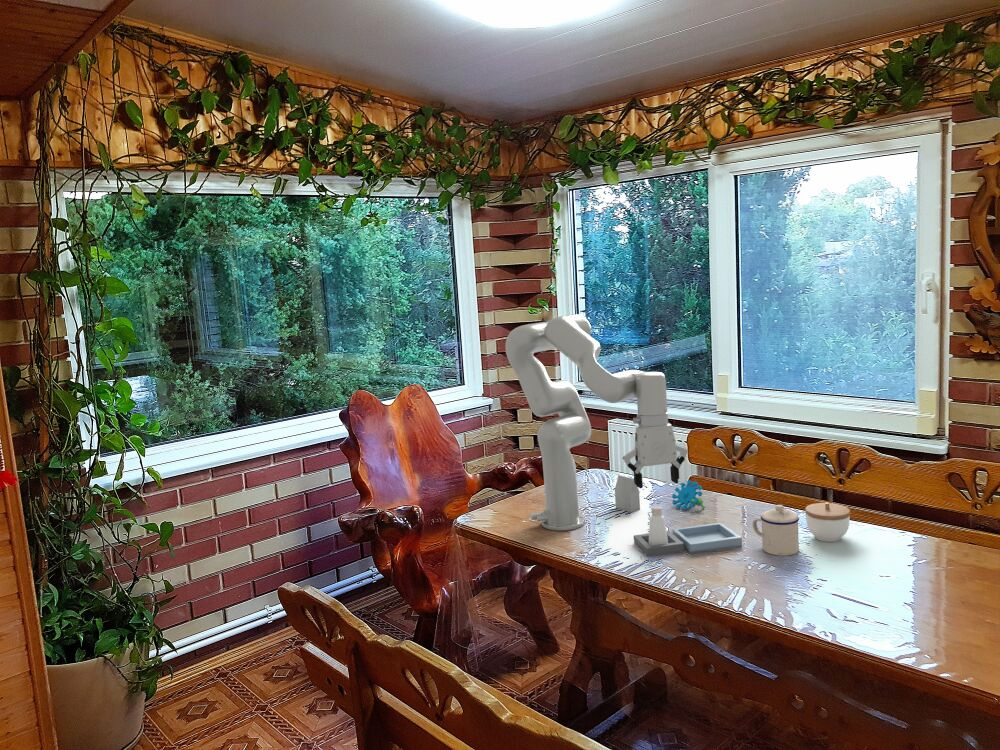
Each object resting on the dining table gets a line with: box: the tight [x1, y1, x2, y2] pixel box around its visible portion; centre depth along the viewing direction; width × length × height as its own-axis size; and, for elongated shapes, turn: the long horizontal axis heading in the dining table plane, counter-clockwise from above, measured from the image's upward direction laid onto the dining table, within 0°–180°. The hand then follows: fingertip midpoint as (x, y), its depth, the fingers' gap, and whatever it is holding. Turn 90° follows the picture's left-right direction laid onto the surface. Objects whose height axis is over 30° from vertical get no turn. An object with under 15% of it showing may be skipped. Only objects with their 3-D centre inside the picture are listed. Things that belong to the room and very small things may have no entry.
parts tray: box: [671, 522, 743, 555], centre depth 201 cm, size 14×12×2 cm
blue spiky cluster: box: [671, 479, 706, 511], centre depth 230 cm, size 11×6×10 cm
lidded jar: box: [804, 502, 851, 543], centre depth 197 cm, size 11×11×9 cm
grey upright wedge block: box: [614, 474, 641, 513], centre depth 232 cm, size 4×7×10 cm, turn 35°
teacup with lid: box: [752, 504, 800, 557], centre depth 193 cm, size 12×9×12 cm
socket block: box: [633, 530, 685, 557], centre depth 200 cm, size 10×10×2 cm
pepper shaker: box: [648, 505, 668, 546], centre depth 199 cm, size 5×5×11 cm
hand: (657, 484), depth 197 cm, fingers open, 9 cm apart
